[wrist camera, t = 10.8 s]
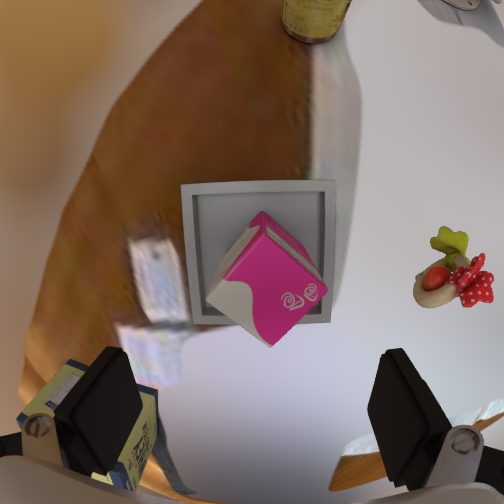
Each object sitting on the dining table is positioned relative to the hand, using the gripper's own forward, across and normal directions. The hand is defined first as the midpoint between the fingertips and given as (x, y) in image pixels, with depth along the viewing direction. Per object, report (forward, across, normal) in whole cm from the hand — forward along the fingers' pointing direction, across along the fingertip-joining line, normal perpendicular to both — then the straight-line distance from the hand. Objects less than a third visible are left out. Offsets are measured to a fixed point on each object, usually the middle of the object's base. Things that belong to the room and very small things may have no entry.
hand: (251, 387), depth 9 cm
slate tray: (+21, 0, +1) cm, 21 cm away
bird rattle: (+21, -20, +3) cm, 29 cm away
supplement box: (+20, 0, 0) cm, 20 cm away
